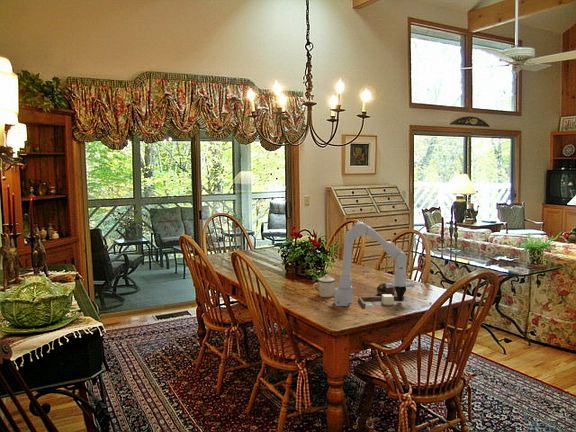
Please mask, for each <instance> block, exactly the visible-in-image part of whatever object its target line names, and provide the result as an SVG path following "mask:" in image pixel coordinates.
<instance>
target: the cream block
mask: <svg viewBox="0 0 576 432" xmlns="http://www.w3.org/2000/svg"><path fill="white" fill-rule="evenodd" d="M394 296H395V295H394ZM394 296H393V295H392V294H382V303H383V304H384V305H383V306H386V305H392V304H394ZM392 306H393V305H392Z"/></svg>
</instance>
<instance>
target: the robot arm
mask: <svg viewBox="0 0 576 432" xmlns="http://www.w3.org/2000/svg"><path fill="white" fill-rule="evenodd" d="M364 235H365V237H371V238H372V239H373V240H375V241H376V242H377V243H378V244H379V245H381V246H382V250H383V251H384V252H385V253H386V254H387V255H388V256H390V257H391V258H392V259H394V263H395V265H394V282H387V283H386V282H385V283H386V288H390V287H394V289H395V293H396V296H397V297H398V301H399V302H402V298H403V296H404V295H405V293H406V291H407V288H415V287H416V286H415V285H416V284H415V283H414V282H407V261H408V258H407V257H408V256H407V255H406V253H405V252H404V251H403V250H402V248H399V247H398V246H397V245H395V244H396V243H395V242H394V241H387V240H386V239H384V237H382V235H380V234H379V232H377V231H376V230H375V229H373V228H372V227H371V226H370V225H368V224H366V223H365V222H364V221H357V222H355V223H354V224H352V226H351V227H350V229H348V230H347V232H346V233H345V236H344V245H343V254H342V255H343V257H342V266H341V268H342V269H341V274H340V276H339V281H338V282H339V283H338V284H339V285H338V286H337V287H334V296H333V297H334V298H333V301H334V302H333V303H334V305H335V306H336V307H351V305H350V304H352V303H353V286H352V279H353V278H352V275H351V271H352V262H353V247H354V241H355V240H357V239H358V238H359V237H362V236H364Z"/></svg>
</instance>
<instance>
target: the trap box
mask: <svg viewBox="0 0 576 432" xmlns="http://www.w3.org/2000/svg"><path fill="white" fill-rule="evenodd" d="M357 302H359V304H360V305H361V306H362V309H369V308H370V309H371V308H372V309H373V308H375V309H376V306H386V308H394V305H396V306H399V305H401V306H404V307H405V308H409V307H411V305H410V304H409V303H408V302H407V301H406V300H405V296H404V295H403V298H402V302H399V301H398V297H397V295H394V304H392V305H384V304H383V303H382V296H380V295H378V296H376V295H375V296H373V295H372V296H358V301H357Z"/></svg>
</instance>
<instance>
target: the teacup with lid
mask: <svg viewBox="0 0 576 432" xmlns="http://www.w3.org/2000/svg"><path fill="white" fill-rule="evenodd" d="M335 281H336V280H335V278H333V277H332V276H329V274H325V275H324V276H322V277H320V278H318V282H315V283H314V284H313V290H314V291H315V292H318V296H319V297H322V298H332V297H334V289H335ZM316 285H318V289H316Z"/></svg>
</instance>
